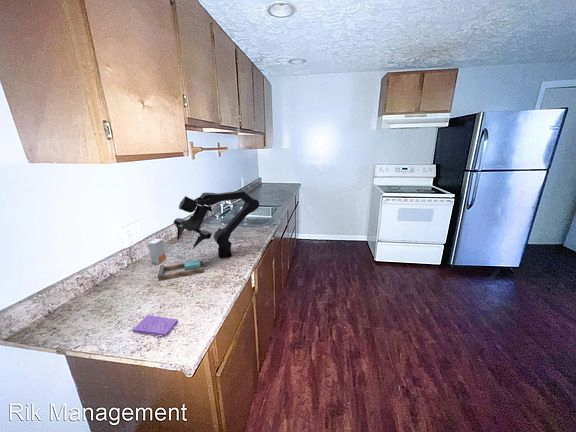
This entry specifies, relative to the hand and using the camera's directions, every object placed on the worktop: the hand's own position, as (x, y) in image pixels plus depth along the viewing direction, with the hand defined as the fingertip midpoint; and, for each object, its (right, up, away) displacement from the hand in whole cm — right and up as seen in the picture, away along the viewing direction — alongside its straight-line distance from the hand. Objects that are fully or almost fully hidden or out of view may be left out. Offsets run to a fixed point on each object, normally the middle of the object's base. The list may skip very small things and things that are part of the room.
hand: (185, 243), depth 118 cm
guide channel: (0, -13, -3) cm, 14 cm away
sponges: (+6, -25, -37) cm, 46 cm away
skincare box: (-17, -11, +7) cm, 21 cm away
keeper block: (+4, -13, -1) cm, 14 cm away
